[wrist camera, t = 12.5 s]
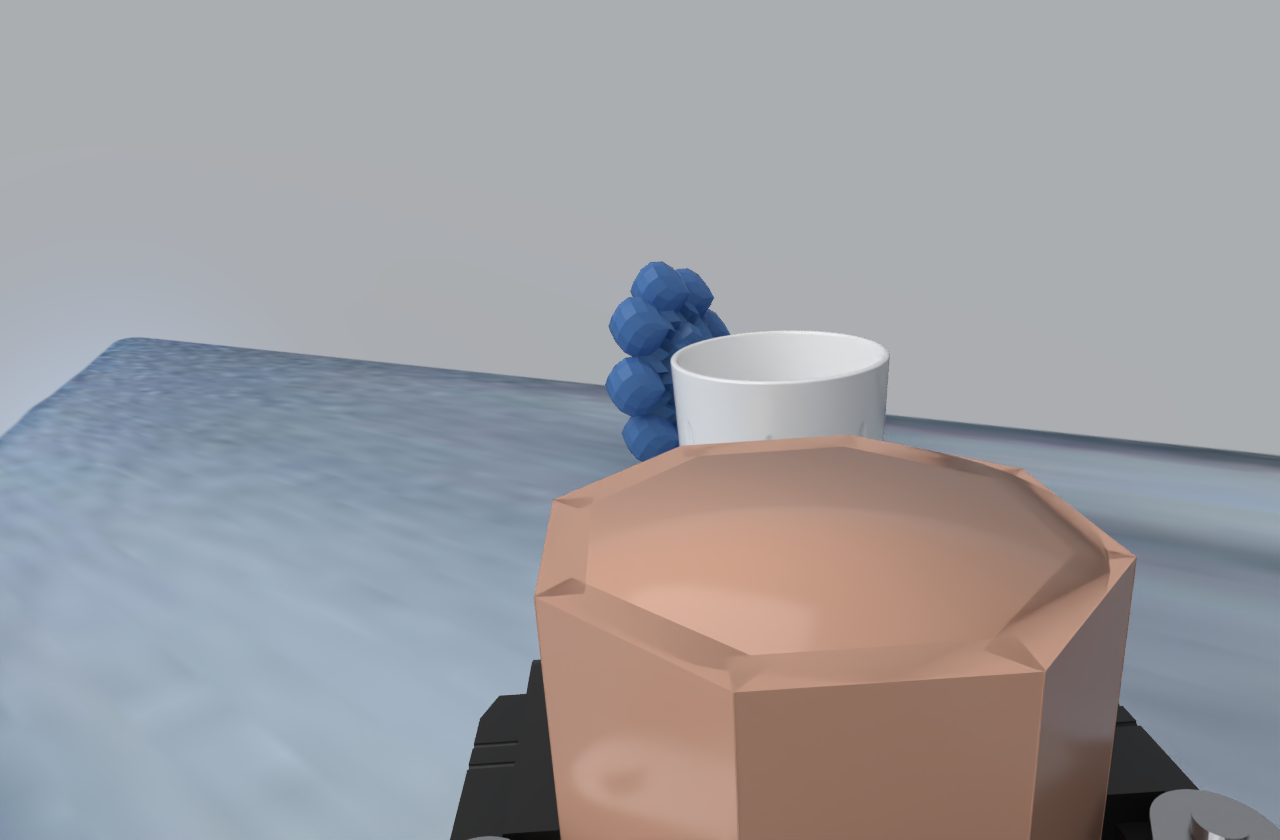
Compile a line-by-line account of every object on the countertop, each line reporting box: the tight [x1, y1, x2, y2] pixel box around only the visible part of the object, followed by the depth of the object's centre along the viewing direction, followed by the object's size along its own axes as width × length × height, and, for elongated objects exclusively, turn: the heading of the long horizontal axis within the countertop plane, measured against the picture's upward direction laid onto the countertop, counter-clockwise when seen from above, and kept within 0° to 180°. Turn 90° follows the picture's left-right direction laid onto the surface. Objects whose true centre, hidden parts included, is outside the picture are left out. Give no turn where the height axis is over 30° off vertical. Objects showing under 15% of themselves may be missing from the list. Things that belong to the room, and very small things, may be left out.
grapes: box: [605, 262, 730, 462], centre depth 45 cm, size 12×7×12 cm, turn 152°
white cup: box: [671, 331, 890, 446], centre depth 32 cm, size 8×8×10 cm
